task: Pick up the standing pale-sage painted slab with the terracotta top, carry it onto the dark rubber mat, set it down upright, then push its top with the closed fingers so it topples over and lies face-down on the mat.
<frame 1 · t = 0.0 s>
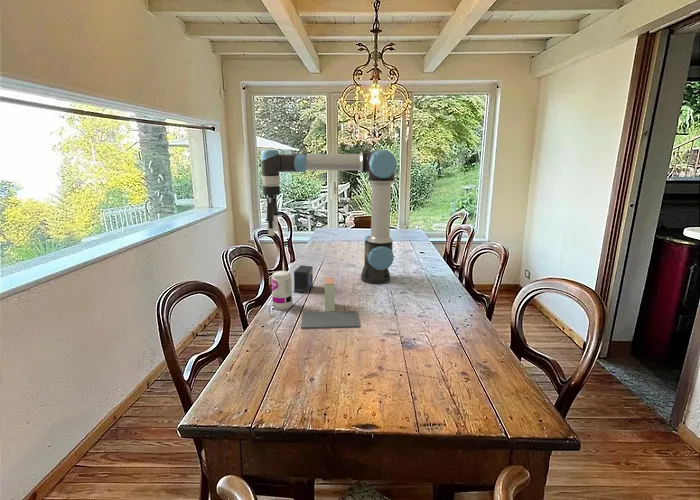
hand: (273, 232, 184), 28 cm above the table, fingers open, 13 cm apart
mat: (330, 320, 158), on the table
small box: (303, 289, 192), on the table
slab: (329, 307, 171), on the table
supplement can: (282, 307, 172), on the table
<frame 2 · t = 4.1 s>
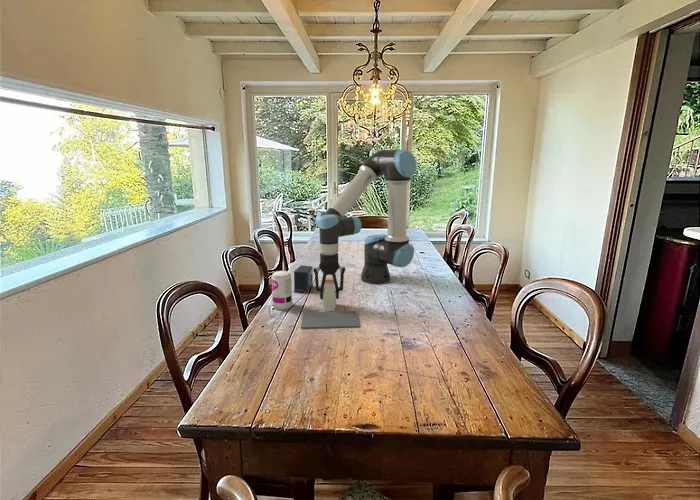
hand: (329, 305, 171), 1 cm above the table, fingers closed on slab, 4 cm apart
slab: (329, 307, 171), on the table, touching gripper
everything else where it was.
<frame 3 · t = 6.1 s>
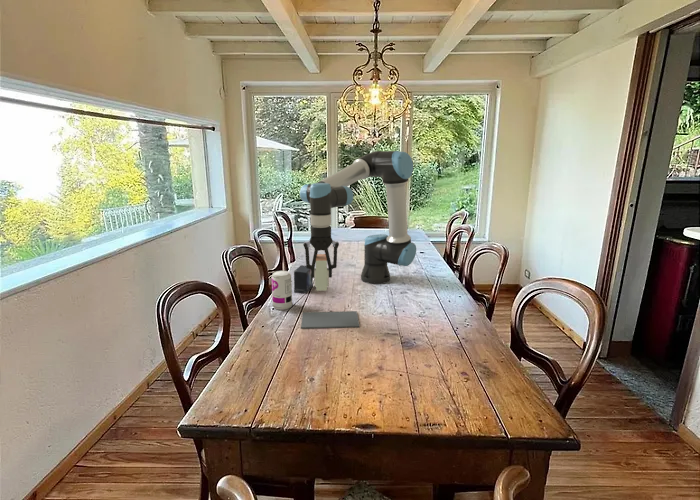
hand: (321, 285, 154), 15 cm above the table, fingers closed on slab, 4 cm apart
slab: (321, 287, 155), point 14 cm above the table, touching gripper
everything else where it was.
when the fingers open (2 cm above the table, at t = 8.5 s): slab stays where it is, resting on mat.
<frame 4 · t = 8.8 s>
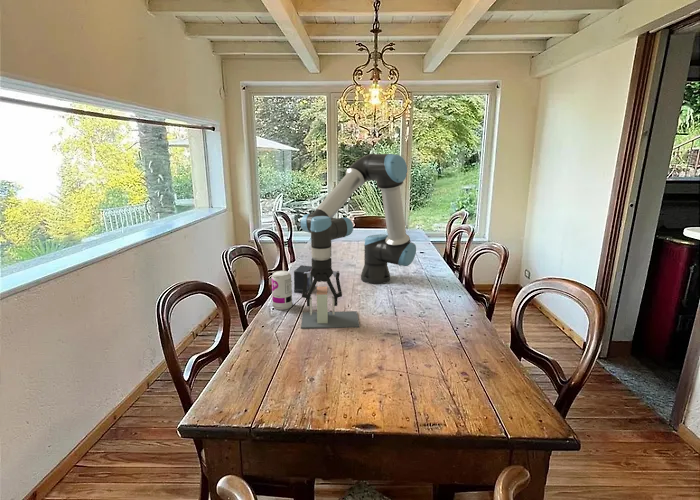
hand: (322, 313, 157), 3 cm above the table, fingers open, 8 cm apart
slab: (322, 318, 158), point 1 cm above the table, touching mat
everything else where it was.
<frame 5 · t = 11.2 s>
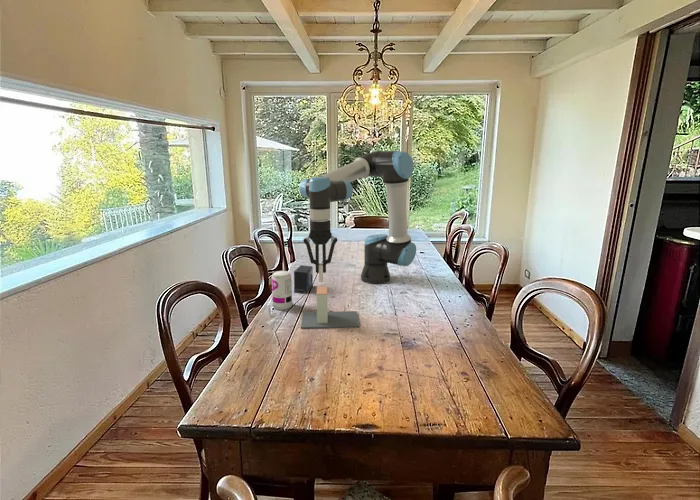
hand: (321, 280, 154), 16 cm above the table, fingers closed
nothing on the table moved.
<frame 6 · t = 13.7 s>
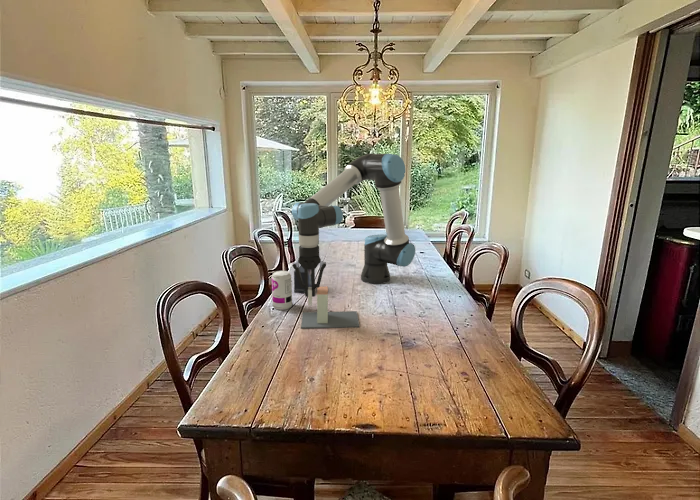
hand: (310, 304, 156), 7 cm above the table, fingers closed
slab: (322, 318, 158), point 1 cm above the table, touching gripper, mat
everything else where it was.
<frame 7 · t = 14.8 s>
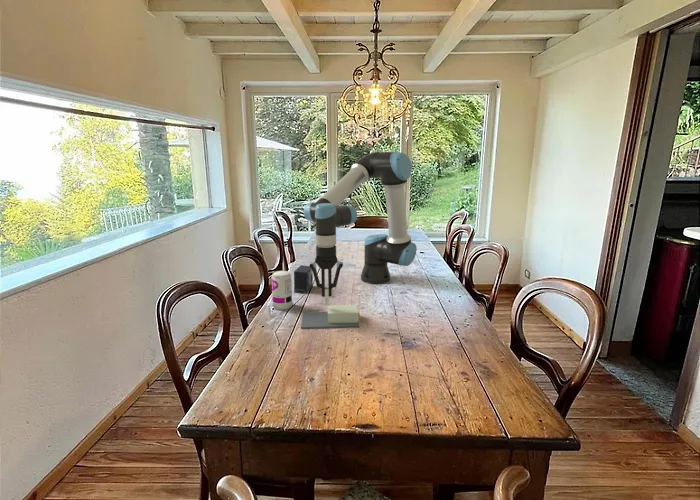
hand: (326, 304, 157), 7 cm above the table, fingers closed
slab: (327, 314, 158), point 3 cm above the table, tilted 90°, touching mat
everything else where it was.
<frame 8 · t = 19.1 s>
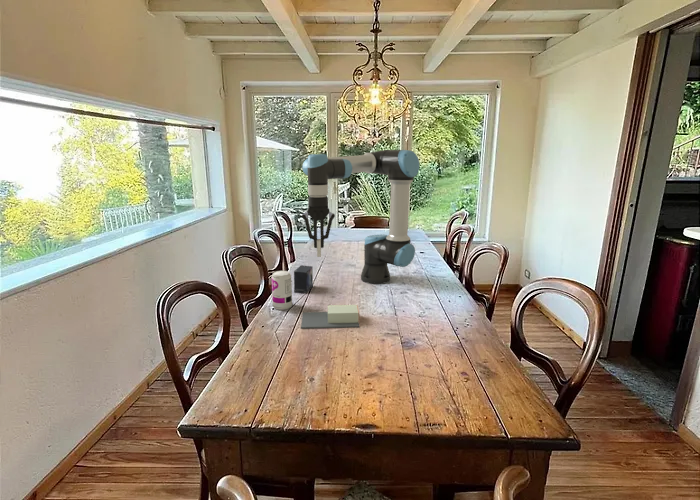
hand: (319, 255, 159), 24 cm above the table, fingers closed
nothing on the table moved.
at the end: slab tilted 90°; slab inside the target area (1.4 cm from its centre), point 2.6 cm above the table; the gripper is holding nothing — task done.
